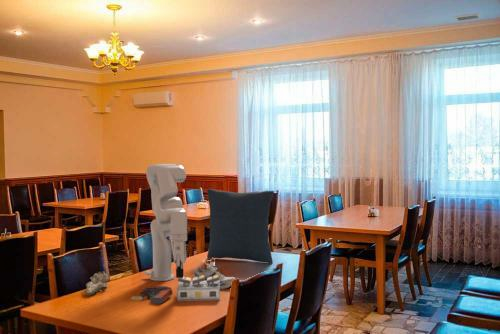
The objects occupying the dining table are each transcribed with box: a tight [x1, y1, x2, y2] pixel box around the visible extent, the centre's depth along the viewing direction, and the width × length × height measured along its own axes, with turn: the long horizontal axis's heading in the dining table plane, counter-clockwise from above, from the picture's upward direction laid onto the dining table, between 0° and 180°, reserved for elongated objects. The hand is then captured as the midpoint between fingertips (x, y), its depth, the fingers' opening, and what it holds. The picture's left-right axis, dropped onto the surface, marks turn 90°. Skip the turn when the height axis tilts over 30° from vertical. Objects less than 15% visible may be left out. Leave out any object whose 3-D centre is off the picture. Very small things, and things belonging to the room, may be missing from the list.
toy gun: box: [130, 285, 173, 304], centre depth 222 cm, size 18×5×15 cm
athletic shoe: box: [192, 263, 236, 290], centre depth 240 cm, size 10×23×12 cm, turn 78°
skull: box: [85, 271, 110, 297], centre depth 233 cm, size 9×18×10 cm
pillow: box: [206, 188, 275, 264], centre depth 292 cm, size 44×16×44 cm, turn 70°
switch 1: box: [177, 276, 192, 284], centre depth 222 cm, size 6×5×2 cm
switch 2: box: [191, 275, 205, 284], centre depth 222 cm, size 6×5×2 cm
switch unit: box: [176, 280, 221, 302], centre depth 222 cm, size 19×12×7 cm, turn 93°
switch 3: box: [207, 275, 219, 284], centre depth 222 cm, size 6×5×2 cm
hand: (179, 277), depth 221 cm, fingers closed
